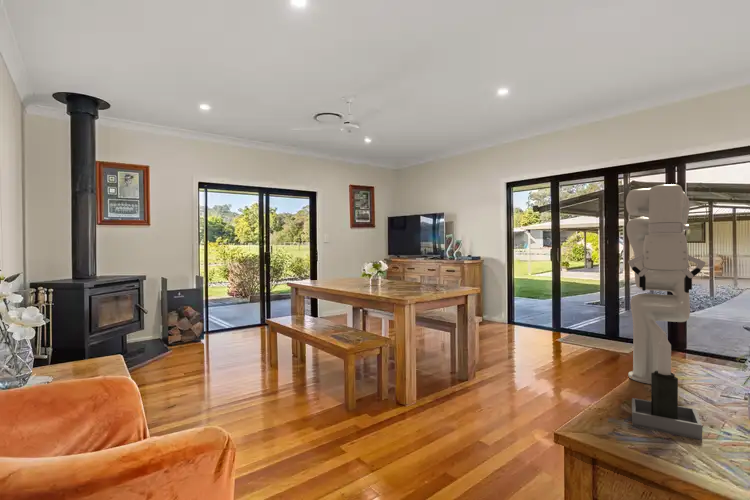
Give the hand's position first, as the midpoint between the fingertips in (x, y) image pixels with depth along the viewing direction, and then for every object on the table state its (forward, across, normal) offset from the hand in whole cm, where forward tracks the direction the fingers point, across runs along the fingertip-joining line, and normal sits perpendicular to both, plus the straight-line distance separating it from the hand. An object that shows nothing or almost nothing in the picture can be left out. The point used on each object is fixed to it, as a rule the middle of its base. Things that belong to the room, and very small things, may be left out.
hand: (664, 291), depth 110 cm
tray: (+37, 0, 0) cm, 37 cm away
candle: (+37, 0, 0) cm, 37 cm away
